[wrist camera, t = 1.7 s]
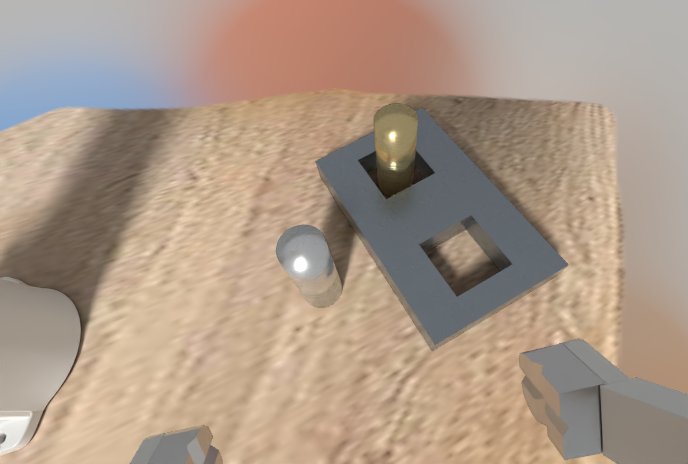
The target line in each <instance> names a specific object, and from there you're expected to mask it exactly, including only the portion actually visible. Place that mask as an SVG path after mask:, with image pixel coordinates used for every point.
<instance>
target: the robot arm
mask: <svg viewBox="0 0 688 464" xmlns="http://www.w3.org/2000/svg"><path fill="white" fill-rule="evenodd" d="M80 334H81V327H80V319H79V315H78V312H77V309H76V307H75V305H74V304H73V302H72V301H71V300H70V299H69V298H68V297H67V296H66V295H64V294H63V293H61V292H59V291H57V290H53V289H49V288H40V287H33V286H28V285H26V284H25V283H24V282H22V281H20V280H18V279H15V278H11V277H2V278H0V456H2V455H4V454H7V453H10V452H13V451H16V450H19V449H21V448H23V447H24V446H25V445H27V443H28V442H29V441H30V440H31V438H32V436H33V434H34V432H35V430H36V428H37V425H38V423H39V420H40V418H41V415H42V413H43V410H44V409H45V407H46V405H47V404H48V402H49V401H50V400H51V398H52V397H53V396H54V394H55V393H56V392H57V391H58V389H59V388H60V386H61V385H62V383H63V382H64V380H65V379H66V377H67V375H68V373H69V371H70V369H71V367H72V365H73V363H74V360H75V358H76V355H77V351H78V347H79V342H80ZM519 365H520V368H521V369H522V371H523V372H524V373H525V377H524V379H523V380H522V388H523V394H524V397H525V400H526V402H527V405H528V407H529V409H530V411H531V413H532V414H533V416H534V417H535V419H536V420H537V422H539V423H541V424H543V425H545V426H547V434H548V437H549V439H550V440H551V442H552V443H553V444H554V446H555V447H556V449H557V450H558V451H559V453H560V454H561V456H562V457H563V458H564V460H568V459H574V458H579V457H584V456H590V455H595V454H600V453H603V455H604V456H606V457H608V458H609V459H611V460H612V461H614V462H616V463H617V464H688V394H686V393H683V392H680V391H677V390H674V389H671V388H667V387H665V386H662V385H659V384H655V383H652V382H649V381H646V380H643V379H640V378H637V377H636V378H632V379H630V378H629V377H628V376H626V375H625V374H624V373H623V372H622V371H620V370H619V369H618V368H617V367H616V366H614V365H613V364H612V363H611V362H610V361H608V360H607V359H606V358H605V357H604V356H602V355H601V354H600V353H599V352H598V351H596V350H595V349H594V348H593V347H592V346H590V345H589V344H588V343H587V342H586V341H584V340H582V339H579V338H578V339H575V340H571V341H567V342H563V343H559V344H557V345H553V346H549V347H544V348H540V349H536V350H532V351H527V352H523V353H520V355H519ZM5 437H6V439H5ZM4 439H5V441H4ZM212 439H213V435H212V433H211V431H210V429H209V427H208V426H205V425H201V426H196V427H191V428H186V429H181V430H176V431H171V432H167V433H163V434H158V435H153V436H149V437H148V438H146V439H145V440H143V442H142V444H141V445H140V447H139V449H138V451H137V452H136V454H135V456H134V457H133V459H132V461H131V462H130V464H223V461H222V457H221V454H220V452H219V450H218V449H216V448H215V447H213V446H211V445H210V444H211V441H212Z"/></svg>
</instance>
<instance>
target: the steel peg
mask: <svg viewBox="0 0 688 464" xmlns="http://www.w3.org/2000/svg"><path fill="white" fill-rule="evenodd" d="M276 255H277V258H278V260H279V262H280V263H281V265H282V266H283V267H284V269H285V270H286V272H287V273H288V275H289V276H290V277H291V279H292V280H293V282H294V283H295V285H296V286H297V287H298V289H299V290H300V292H301V293H302V295H303V296H304V298H305V299H306V300H307V302H308V303H309V304H311V305H312V306H314V307H318V308H325V307H329V306H331V305H333V304H334V303H335V302H336V301H337V300H338V299H339V297H340V296H341V293H342V283H341V280H340V277H339V275H338V272H337V269H336V267H335V264H334V261H333V259H332V256H331V253H330V250H329V248H328V245H327V242H326V240H325V237H324V235H323V234H322V232H321V231H320V230H318V229H317V228H315V227H313V226H310V225H298V226H294V227H292V228H290V229H288V230H287V231H285V232H284V233H283V234H282V236H281V237H280V239H279V240H278V243H277V246H276Z"/></svg>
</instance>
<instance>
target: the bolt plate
mask: <svg viewBox="0 0 688 464" xmlns="http://www.w3.org/2000/svg"><path fill="white" fill-rule="evenodd" d="M316 164H317V168H318V171H319V174H320V177H321V179H322V180H323V182H324V183H325V185H326V187H327V188H328V190H329V191H330V193H331V194H332V196H333V198H334V199H335V201H336V202H337V204H338V205H339V207H340V208H341V210H342V212H343V213H344V215H345V216H346V218H347V219H348V221H349V222H350V224H351V226H352V227H353V229H354V230H355V232H356V233H357V235H358V236H359V238H360V240H361V241H362V243H363V244H364V246H365V247H366V249H367V251H368V252H369V254H370V255H371V257H372V258H373V260H374V261H375V263H376V265H377V266H378V268H379V269H380V271H381V272H382V274H383V275H384V277H385V279H386V280H387V282H388V283H389V285H390V286H391V288H392V290H393V291H394V293H395V294H396V296H397V297H398V299H399V300H400V302H401V304H402V305H403V307H404V308H405V310H406V311H407V313H408V314H409V316H410V318H411V319H412V321H413V322H414V324H415V325H416V327H417V328H418V330H419V332H420V333H421V335H422V336H423V338H424V339H425V341H426V343H427V344H428V346H429V347H430V349H431V350H432V351H434V350H435V349H437V348H439V347H440V346H442V345H444V344H445V343H447V342H449V341H450V340H452V339H454V338H455V337H457V336H459V335H460V334H462V333H464V332H465V331H467V330H469V329H470V328H472V327H474V326H475V325H477V324H478V323H480V322H482V321H483V320H485V319H487V318H488V317H490V316H492V315H493V314H495V313H497V312H498V311H500V310H502V309H503V308H505V307H507V306H508V305H510V304H512V303H513V302H515V301H517V300H518V299H520V298H522V297H523V296H525V295H527V294H528V293H530V292H532V291H533V290H535V289H537V288H538V287H540V286H542V285H543V284H545V283H547V282H548V281H550V280H552V279H553V278H555V277H556V276H557V275H559V274H560V273H561V272H562V271H563V270H564V269H565V268H566V267H567V266H568V263H567V262H566V261H565V260H564V259H563V258H562V257H561V256H560V255H559V254H558V253H557V252H556V251H555V250H554V248H553V247H552V246H551V245H550V244H549V243H548V242H547V241H546V240H545V239H544V238H543V237H542V236H541V234H540V233H539V232H538V231H537V230H536V229H535V228H534V227H533V226H532V225H531V224H530V223H529V222H528V221H527V219H526V218H525V217H524V216H523V215H522V214H521V213H520V212H519V211H518V210H517V209H516V208H515V207H514V205H513V204H512V203H511V202H510V201H509V200H508V199H507V198H506V197H505V196H504V195H503V194H502V193H501V192H500V190H499V189H498V188H497V187H496V186H495V185H494V184H493V183H492V182H491V181H490V180H489V179H488V178H487V176H486V175H485V174H484V173H483V172H482V171H481V170H480V169H479V168H478V167H477V166H476V165H475V164H474V163H473V161H472V160H471V159H470V158H469V157H468V156H467V155H466V154H465V153H464V152H463V151H462V150H461V149H460V147H459V146H458V145H457V144H456V143H455V142H454V141H453V140H452V139H451V138H450V137H449V136H448V135H447V134H446V132H445V131H444V130H443V129H442V128H441V127H440V126H439V125H438V124H437V123H436V122H435V121H434V120H433V118H432V117H431V116H430V115H429V114H428V113H427V112H426V111H425V110H424V109H423V108H420V109H418V110H416V111H415V110H414V109H413V108H411V107H410V106H408V105H405V104H400V103H394V104H389V105H386V106H384V107H382V108H381V109H379V110H378V111H377V113H376V114H375V116H374V132H372V133H370V134H368V135H366V136H364V137H362V138H360V139H358V140H356V141H354V142H352V143H350V144H348V145H346V146H345V147H343V148H341V149H339V150H337V151H335V152H333V153H331V154H329V155H327V156H325V157H323V158H321V159H319V160H317V161H316ZM414 167H415V168H416V169H417V170H418V171H419V172H420V174H421V175H422V176H423V177H424V179H423V180H421V181H419V182H418V183H416V184H414V185H413V181H414ZM375 168H377V176H378V186H379V189H380V190H381V192H382V193H384V194H385V195H387V196H390V198H388V199H386V198H385V197H384V196H383V194H382V193H381V192H380V190H379V189H378V187H377V186H376V185H375V183H374V182H373V181H372V179H371V178H370V176H369V175H368V174H367V172H369V171H371V170H373V169H375ZM464 230H467V231H468V232H469V233H470V235H471V236H472V237H473V238H474V240H475V241H476V242H477V243H478V244H479V246H480V247H481V248H482V249H483V250H484V252H485V253H486V254H487V255H488V257H489V258H490V259H491V260H492V261H493V263H494V264H495V265H496V266H497V268H498V269H499V270H500V272H498V273H497V274H495V275H493V276H492V277H490V278H488V279H487V280H485V281H483V282H481V283H480V284H478V285H476V286H475V287H473V288H471V289H470V290H468V291H466V292H464V293H463V294H461V295H459V296H458V297H457V296H456V295H455V293H454V292H453V291H452V289H451V288H450V286H449V285H448V284H447V282H446V281H445V280H444V278H443V277H442V275H441V274H440V273H439V271H438V270H437V269H436V267H435V266H434V264H433V263H432V262H431V260H430V259H429V258H428V256H427V255H426V253H425V252H427V251H429V250H430V249H432V248H434V247H436V246H438V245H439V244H441V243H443V242H445V241H446V240H448V239H450V238H452V237H454V236H455V235H457V234H459V233H461V232H462V231H464Z"/></svg>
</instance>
